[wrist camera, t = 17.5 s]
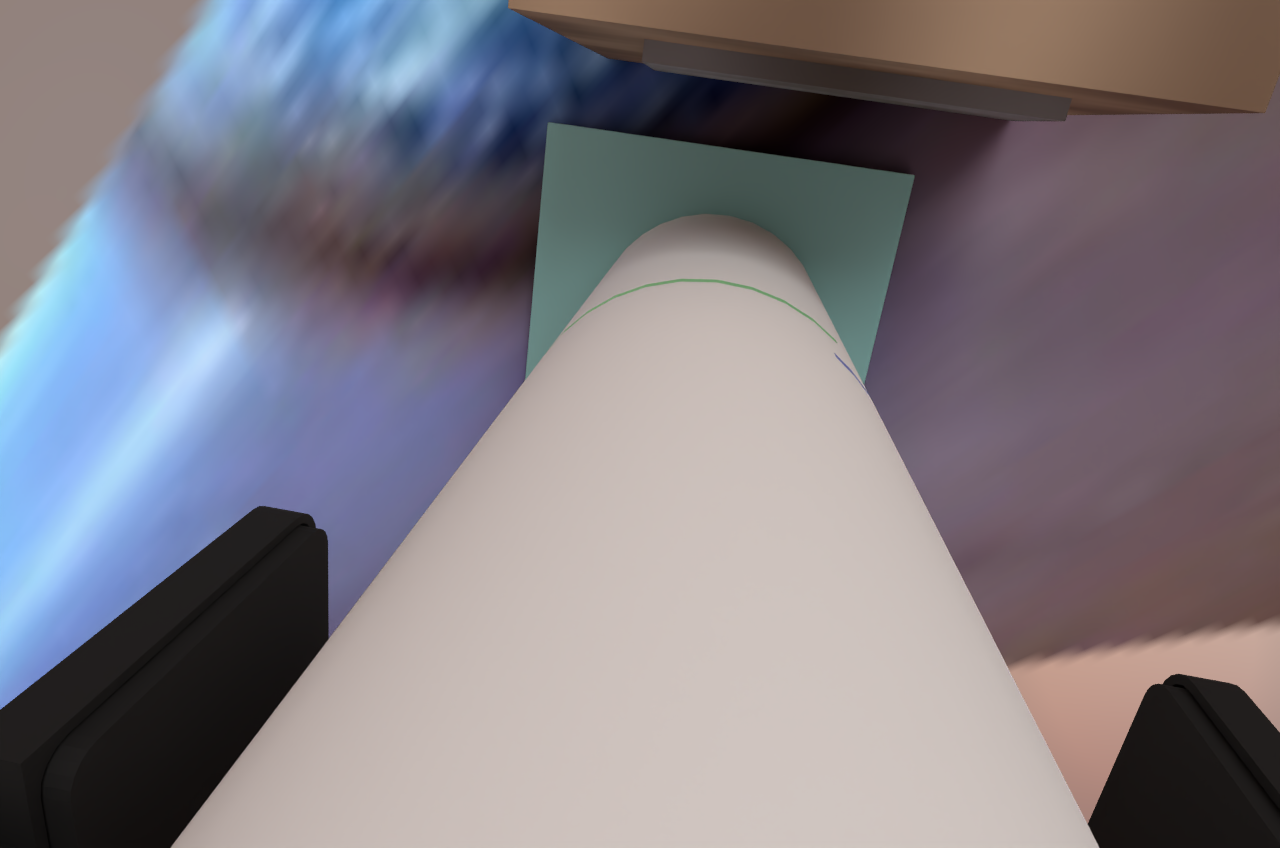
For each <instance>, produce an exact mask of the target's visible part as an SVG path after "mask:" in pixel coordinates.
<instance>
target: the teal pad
mask: <svg viewBox="0 0 1280 848" xmlns="http://www.w3.org/2000/svg"><path fill="white" fill-rule="evenodd" d="M914 177H915V175H912V174H906V173H899V172H892V171H886V170H879V169H872V168H865V167H858V166H851V165H844V164H837V163H830V162H823V161H816V160H810V159H803V158H796V157H789V156H782V155H775V154H768V153H761V152H754V151H747V150H740V149H734V148H727V147H720V146H713V145H706V144H699V143H692V142H685V141H678V140H671V139H664V138H658V137H651V136H644V135H637V134H630V133H623V132H616V131H609V130H602V129H595V128H588V127H582V126H575V125H568V124H561V123H554V122H548V127H547V138H546V149H545V161H544V172H543V183H542V195H541V206H540V218H539V229H538V240H537V252H536V263H535V275H534V286H533V297H532V309H531V320H530V331H529V343H528V354H527V366H526V377H525V380H526V378H527V377H528V376H529V375H530V373H531V372H532V371H533V369H534V368H535V367H536V365H537V364H538V363H539V361H540V360H541V359H542V357H543V356H544V355H545V353H546V352H547V351H548V350H549V348H550V347H551V346H552V344H553V343H554V342H555V340H556V339H557V338H558V336H559V335H560V334H561V332H562V331H563V330H564V329H565V327H566V326H567V325H568V323H569V322H570V321H571V319H572V318H573V317H574V315H575V314H576V313H577V312H578V310H579V309H580V308H581V306H582V305H583V304H584V302H585V301H586V300H587V298H588V297H589V296H590V295H591V293H592V292H593V291H594V289H595V288H596V287H597V285H598V284H599V283H600V281H601V280H602V279H603V278H604V276H605V275H606V274H607V272H608V271H609V270H610V268H611V267H612V266H613V264H614V263H615V262H616V261H617V259H618V258H619V257H620V256H621V254H622V253H623V252H624V251H625V249H626V248H627V247H628V246H630V245H631V244H632V243H633V242H634V241H635V240H637V239H638V238H639V237H640V236H641V235H642V234H644V233H646V232H648V231H649V230H651V229H653V228H655V227H656V226H658V225H660V224H662V223H665V222H668V221H671V220H674V219H677V218H680V217H684V216H692V215H700V214H715V215H727V216H732V217H735V218H739V219H742V220H745V221H749V222H752V223H754V224H756V225H758V226H760V227H761V228H763V229H765V230H767V231H769V232H770V233H772V234H774V235H775V236H776V237H777V238H778V239H779V240H781V241H782V242H783V243H784V244H785V245H786V246H788V247H789V248H790V249H791V250H792V252H793V253H794V254H795V256H796V257H797V258H798V259H799V261H800V262H801V263H802V265H803V266H804V268H805V270H806V272H807V274H808V276H809V278H810V280H811V282H812V284H813V286H814V288H815V290H816V292H817V294H818V296H819V298H820V300H821V302H822V304H823V306H824V308H825V309H826V311H827V313H828V315H829V317H830V319H831V321H832V323H833V325H834V327H835V329H836V331H837V333H838V335H839V337H840V339H841V341H842V343H843V345H844V347H845V349H846V351H847V353H848V355H849V357H850V359H851V361H852V363H853V364H854V366H855V368H856V370H857V372H858V374H859V376H860V378H861V380H862V382H863V384H864V383H865V379H866V374H867V370H868V366H869V362H870V358H871V354H872V350H873V346H874V342H875V337H876V333H877V329H878V325H879V321H880V317H881V313H882V309H883V304H884V300H885V296H886V292H887V288H888V284H889V280H890V276H891V272H892V267H893V263H894V259H895V255H896V251H897V247H898V243H899V239H900V235H901V230H902V226H903V222H904V218H905V214H906V210H907V206H908V202H909V198H910V193H911V189H912V185H913V181H914Z"/></svg>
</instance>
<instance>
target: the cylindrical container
mask: <svg viewBox="0 0 1280 848" xmlns="http://www.w3.org/2000/svg"><path fill="white" fill-rule="evenodd" d="M171 848H1099V846H1098V844H1097V842H1096V840H1095V838H1094V836H1093V834H1092V832H1091V830H1090V828H1089V826H1088V824H1087V822H1086V820H1085V818H1084V816H1083V815H1082V813H1081V811H1080V809H1079V807H1078V805H1077V803H1076V801H1075V799H1074V797H1073V795H1072V793H1071V791H1070V789H1069V787H1068V785H1067V783H1066V781H1065V779H1064V777H1063V775H1062V773H1061V771H1060V769H1059V767H1058V765H1057V763H1056V762H1055V760H1054V758H1053V756H1052V754H1051V752H1050V750H1049V748H1048V746H1047V744H1046V742H1045V740H1044V738H1043V736H1042V734H1041V732H1040V730H1039V728H1038V726H1037V724H1036V722H1035V720H1034V718H1033V717H1032V714H1031V712H1030V711H1029V708H1028V707H1027V705H1026V703H1025V701H1024V699H1023V697H1022V695H1021V693H1020V691H1019V689H1018V687H1017V685H1016V683H1015V681H1014V679H1013V677H1012V675H1011V673H1010V671H1009V669H1008V667H1007V665H1006V663H1005V661H1004V659H1003V657H1002V655H1001V653H1000V651H999V649H998V647H997V646H996V644H995V642H994V640H993V638H992V636H991V634H990V632H989V630H988V628H987V626H986V624H985V622H984V620H983V618H982V616H981V614H980V612H979V610H978V608H977V606H976V604H975V602H974V600H973V598H972V596H971V594H970V592H969V590H968V589H967V587H966V585H965V583H964V581H963V579H962V577H961V575H960V573H959V571H958V569H957V567H956V565H955V563H954V561H953V559H952V557H951V555H950V553H949V551H948V549H947V547H946V545H945V543H944V541H943V539H942V537H941V535H940V534H939V532H938V530H937V528H936V526H935V524H934V522H933V520H932V518H931V516H930V514H929V512H928V510H927V508H926V506H925V504H924V502H923V500H922V498H921V496H920V494H919V492H918V490H917V488H916V486H915V484H914V482H913V480H912V478H911V477H910V475H909V473H908V471H907V469H906V467H905V465H904V463H903V461H902V459H901V457H900V455H899V453H898V451H897V449H896V447H895V445H894V443H893V441H892V439H891V437H890V435H889V433H888V431H887V429H886V427H885V425H884V423H883V421H882V420H881V418H880V416H879V414H878V412H877V410H876V408H875V406H874V404H873V402H872V400H871V398H870V396H869V394H868V392H867V390H866V388H865V386H864V384H863V382H862V380H861V378H860V376H859V374H858V372H857V370H856V368H855V366H854V364H853V363H852V361H851V359H850V357H849V355H848V353H847V351H846V349H845V347H844V345H843V343H842V341H841V339H840V337H839V335H838V333H837V331H836V329H835V327H834V325H833V323H832V321H831V319H830V317H829V315H828V313H827V311H826V309H825V308H824V306H823V304H822V302H821V300H820V298H819V296H818V294H817V292H816V290H815V288H814V286H813V284H812V282H811V280H810V278H809V276H808V274H807V272H806V270H805V268H804V266H803V265H802V263H801V262H800V261H799V259H798V258H797V257H796V256H795V254H794V253H793V252H792V250H791V249H790V248H789V247H788V246H786V245H785V244H784V243H783V242H782V241H781V240H779V239H778V238H777V237H776V236H775V235H774V234H772V233H770V232H769V231H767V230H765V229H763V228H761V227H760V226H758V225H756V224H754V223H752V222H749V221H745V220H742V219H739V218H735V217H732V216H727V215H715V214H700V215H692V216H684V217H680V218H677V219H674V220H671V221H668V222H665V223H662V224H660V225H658V226H656V227H655V228H653V229H651V230H649V231H648V232H646V233H644V234H642V235H641V236H640V237H639V238H638V239H637V240H635V241H634V242H633V243H632V244H631V245H630V246H628V247H627V248H626V249H625V251H624V252H623V253H622V254H621V256H620V257H619V258H618V259H617V261H616V262H615V263H614V264H613V266H612V267H611V268H610V270H609V271H608V272H607V274H606V275H605V276H604V278H603V279H602V280H601V281H600V283H599V284H598V285H597V287H596V288H595V289H594V291H593V292H592V293H591V295H590V296H589V297H588V298H587V300H586V301H585V302H584V304H583V305H582V306H581V308H580V309H579V310H578V312H577V313H576V314H575V315H574V317H573V318H572V319H571V321H570V322H569V323H568V325H567V326H566V327H565V329H564V330H563V331H562V332H561V334H560V335H559V336H558V338H557V339H556V340H555V342H554V343H553V344H552V346H551V347H550V348H549V350H548V351H547V352H546V353H545V355H544V356H543V357H542V359H541V360H540V361H539V363H538V364H537V365H536V367H535V368H534V369H533V371H532V372H531V373H530V375H529V376H528V377H527V378H526V380H525V381H524V382H523V384H522V385H521V386H520V388H519V389H518V390H517V392H516V393H515V394H514V396H513V397H512V398H511V400H510V401H509V402H508V403H507V405H506V406H505V407H504V409H503V410H502V411H501V413H500V414H499V415H498V417H497V418H496V419H495V421H494V422H493V423H492V425H491V426H490V427H489V429H488V430H487V431H486V432H485V434H484V435H483V436H482V438H481V439H480V440H479V442H478V443H477V444H476V446H475V447H474V448H473V450H472V451H471V452H470V454H469V455H468V456H467V458H466V459H465V460H464V461H463V463H462V464H461V465H460V467H459V468H458V469H457V471H456V472H455V473H454V475H453V476H452V477H451V479H450V480H449V481H448V483H447V484H446V485H445V487H444V488H443V489H442V490H441V492H440V493H439V494H438V496H437V497H436V498H435V500H434V501H433V502H432V504H431V505H430V506H429V508H428V509H427V510H426V512H425V513H424V514H423V516H422V517H421V518H420V519H419V521H418V522H417V523H416V525H415V526H414V527H413V529H412V530H411V531H410V533H409V534H408V535H407V537H406V538H405V539H404V541H403V542H402V543H401V545H400V546H399V547H398V548H397V550H396V551H395V552H394V554H393V555H392V556H391V558H390V559H389V560H388V562H387V563H386V564H385V566H384V567H383V568H382V570H381V571H380V572H379V573H378V575H377V576H376V577H375V579H374V580H373V581H372V583H371V584H370V585H369V587H368V588H367V589H366V591H365V592H364V593H363V595H362V596H361V597H360V599H359V600H358V601H357V602H356V604H355V605H354V606H353V608H352V609H351V610H350V612H349V613H348V614H347V616H346V617H345V618H344V620H343V621H342V622H341V624H340V625H339V626H338V628H337V629H336V630H335V631H334V633H333V634H332V635H331V637H330V638H329V639H328V641H327V642H326V643H325V645H324V646H323V647H322V649H321V650H320V651H319V653H318V654H317V655H316V657H315V658H314V659H313V660H312V662H311V663H310V664H309V666H308V667H307V668H306V670H305V671H304V672H303V674H302V675H301V676H300V678H299V679H298V680H297V682H296V683H295V684H294V686H293V687H292V688H291V689H290V691H289V692H288V693H287V695H286V696H285V697H284V699H283V700H282V701H281V703H280V704H279V705H278V707H277V708H276V709H275V711H274V712H273V713H272V715H271V716H270V717H269V718H268V720H267V721H266V722H265V724H264V725H263V726H262V728H261V729H260V730H259V732H258V733H257V734H256V736H255V737H254V738H253V740H252V741H251V742H250V743H249V745H248V746H247V747H246V749H245V750H244V751H243V753H242V754H241V755H240V757H239V758H238V759H237V761H236V762H235V763H234V765H233V766H232V767H231V769H230V770H229V771H228V772H227V774H226V775H225V776H224V778H223V779H222V780H221V782H220V783H219V784H218V786H217V787H216V788H215V790H214V791H213V792H212V794H211V795H210V796H209V798H208V799H207V800H206V801H205V803H204V804H203V805H202V807H201V808H200V809H199V811H198V812H197V813H196V815H195V816H194V817H193V819H192V820H191V821H190V823H189V824H188V825H187V827H186V828H185V829H184V830H183V832H182V833H181V834H180V836H179V837H178V838H177V840H176V841H175V842H174V844H173V845H172V846H171Z"/></svg>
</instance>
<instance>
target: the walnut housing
mask: <svg viewBox="0 0 1280 848" xmlns="http://www.w3.org/2000/svg"><path fill="white" fill-rule="evenodd" d="M508 8H509V9H511V10H513V11H515V12H517V13H519V14H521V15H523V16H525V17H527V18H529V19H531V20H533V21H535V22H537V23H539V24H541V25H543V26H545V27H547V28H549V29H551V30H553V31H555V32H557V33H559V34H561V35H563V36H565V37H566V38H568V39H570V40H572V41H574V42H576V43H578V44H580V45H582V46H584V47H586V48H588V49H590V50H592V51H594V52H596V53H598V54H600V55H602V56H604V57H606V58H608V59H615V60H623V61H630V62H637V63H644V64H646V65H647V66H649V67H650V68H652V69H653V70H656V71H663V72H670V73H677V74H684V75H691V76H698V77H705V78H712V79H719V80H726V81H734V82H741V83H748V84H755V85H762V86H769V87H776V88H783V89H790V90H797V91H804V92H812V93H819V94H826V95H833V96H840V97H847V98H854V99H861V100H868V101H875V102H882V103H889V104H897V105H904V106H911V107H918V108H925V109H932V110H939V111H946V112H953V113H960V114H967V115H975V116H982V117H989V118H996V119H1003V120H1010V121H1065V120H1066V117H1067V115H1117V114H1211V113H1265V112H1266V109H1267V106H1268V104H1269V101H1270V98H1271V96H1272V93H1273V90H1274V88H1275V85H1276V83H1277V80H1278V77H1279V75H1280V0H509V3H508Z"/></svg>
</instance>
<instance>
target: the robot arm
mask: <svg viewBox="0 0 1280 848" xmlns="http://www.w3.org/2000/svg"><path fill="white" fill-rule="evenodd" d="M328 639H329V638H328V540H327V535H326V532H325V531H324V530H322V529H317V528H316V526H315V522H314V520H313V518H312V517H311V516H310V515H309V514H304V513H299V512H294V511H288V510H283V509H277V508H272V507H266V506H259V507H257V508H255V509H253V510H252V511H251V512H249V513H248V514H247V515H246V516H244V517H243V518H242V519H241V520H239V521H238V522H237V523H236V524H234V525H233V526H232V527H231V528H229V529H228V530H227V531H225V532H224V533H223V534H222V535H220V536H219V537H218V538H217V539H215V540H214V541H213V542H212V543H210V544H209V545H208V546H207V547H205V548H204V549H203V550H201V551H200V552H199V553H198V554H196V555H195V556H194V557H193V558H191V559H190V560H189V561H188V562H186V563H185V564H184V565H183V566H181V567H180V568H179V569H177V570H176V571H175V572H174V573H172V574H171V575H170V576H169V577H167V578H166V579H165V580H164V581H162V582H161V583H160V584H159V585H157V586H156V587H155V588H154V589H152V590H151V591H150V592H148V593H147V594H146V595H145V596H143V597H142V598H141V599H140V600H138V601H137V602H136V603H135V604H133V605H132V606H131V607H130V608H128V609H127V610H126V611H124V612H123V613H122V614H121V615H119V616H118V617H117V618H116V619H114V620H113V621H112V622H111V623H109V624H108V625H107V626H106V627H104V628H103V629H102V630H101V631H99V632H98V633H97V634H95V635H94V636H93V637H92V638H90V639H89V640H88V641H87V642H85V643H84V644H83V645H82V646H80V647H79V648H78V649H77V650H75V651H74V652H73V653H71V654H70V655H69V656H68V657H66V658H65V659H64V660H63V661H61V662H60V663H59V664H58V665H56V666H55V667H54V668H53V669H51V670H50V671H49V672H47V673H46V674H45V675H44V676H42V677H41V678H40V679H39V680H37V681H36V682H35V683H34V684H32V685H31V686H30V687H29V688H27V689H26V690H25V691H24V692H22V693H21V694H20V695H18V696H17V697H16V698H15V699H13V700H12V701H11V702H10V703H8V704H7V705H6V706H5V707H3V708H2V709H1V710H0V848H171V846H172V845H173V844H174V842H175V841H176V840H177V838H178V837H179V836H180V834H181V833H182V832H183V830H184V829H185V828H186V827H187V825H188V824H189V823H190V821H191V820H192V819H193V817H194V816H195V815H196V813H197V812H198V811H199V809H200V808H201V807H202V805H203V804H204V803H205V801H206V800H207V799H208V798H209V796H210V795H211V794H212V792H213V791H214V790H215V788H216V787H217V786H218V784H219V783H220V782H221V780H222V779H223V778H224V776H225V775H226V774H227V772H228V771H229V770H230V769H231V767H232V766H233V765H234V763H235V762H236V761H237V759H238V758H239V757H240V755H241V754H242V753H243V751H244V750H245V749H246V747H247V746H248V745H249V743H250V742H251V741H252V740H253V738H254V737H255V736H256V734H257V733H258V732H259V730H260V729H261V728H262V726H263V725H264V724H265V722H266V721H267V720H268V718H269V717H270V716H271V715H272V713H273V712H274V711H275V709H276V708H277V707H278V705H279V704H280V703H281V701H282V700H283V699H284V697H285V696H286V695H287V693H288V692H289V691H290V689H291V688H292V687H293V686H294V684H295V683H296V682H297V680H298V679H299V678H300V676H301V675H302V674H303V672H304V671H305V670H306V668H307V667H308V666H309V664H310V663H311V662H312V660H313V659H314V658H315V657H316V655H317V654H318V653H319V651H320V650H321V649H322V647H323V646H324V645H325V643H326V642H327V641H328ZM1088 826H1089V828H1090V830H1091V832H1092V834H1093V836H1094V838H1095V840H1096V842H1097V844H1098V846H1099V848H1280V732H1279V731H1278V730H1277V729H1276V728H1275V727H1274V725H1273V724H1272V723H1271V722H1270V721H1269V720H1268V718H1267V717H1266V716H1265V715H1264V714H1263V713H1262V711H1261V710H1260V709H1259V708H1258V707H1257V706H1256V704H1255V703H1254V702H1253V701H1252V700H1251V699H1250V697H1249V696H1248V695H1247V694H1246V693H1245V692H1244V691H1243V690H1242V689H1241V688H1240V687H1238V686H1237V685H1233V684H1230V683H1226V682H1220V681H1215V680H1209V679H1203V678H1198V677H1193V676H1187V675H1182V674H1175V675H1171V676H1170V677H1169V678H1168V679H1166V680H1165V681H1164V683H1163V684H1155V685H1152V686H1151V687H1150V688H1149V689H1148V690H1147V692H1146V693H1145V695H1144V698H1143V700H1142V702H1141V705H1140V707H1139V709H1138V711H1137V713H1136V716H1135V718H1134V720H1133V722H1132V725H1131V727H1130V729H1129V732H1128V734H1127V736H1126V738H1125V741H1124V743H1123V745H1122V747H1121V750H1120V752H1119V754H1118V757H1117V759H1116V761H1115V763H1114V766H1113V768H1112V770H1111V773H1110V775H1109V777H1108V780H1107V782H1106V784H1105V786H1104V788H1103V791H1102V793H1101V795H1100V798H1099V800H1098V802H1097V804H1096V807H1095V809H1094V811H1093V814H1092V816H1091V818H1090V820H1089V823H1088Z"/></svg>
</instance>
